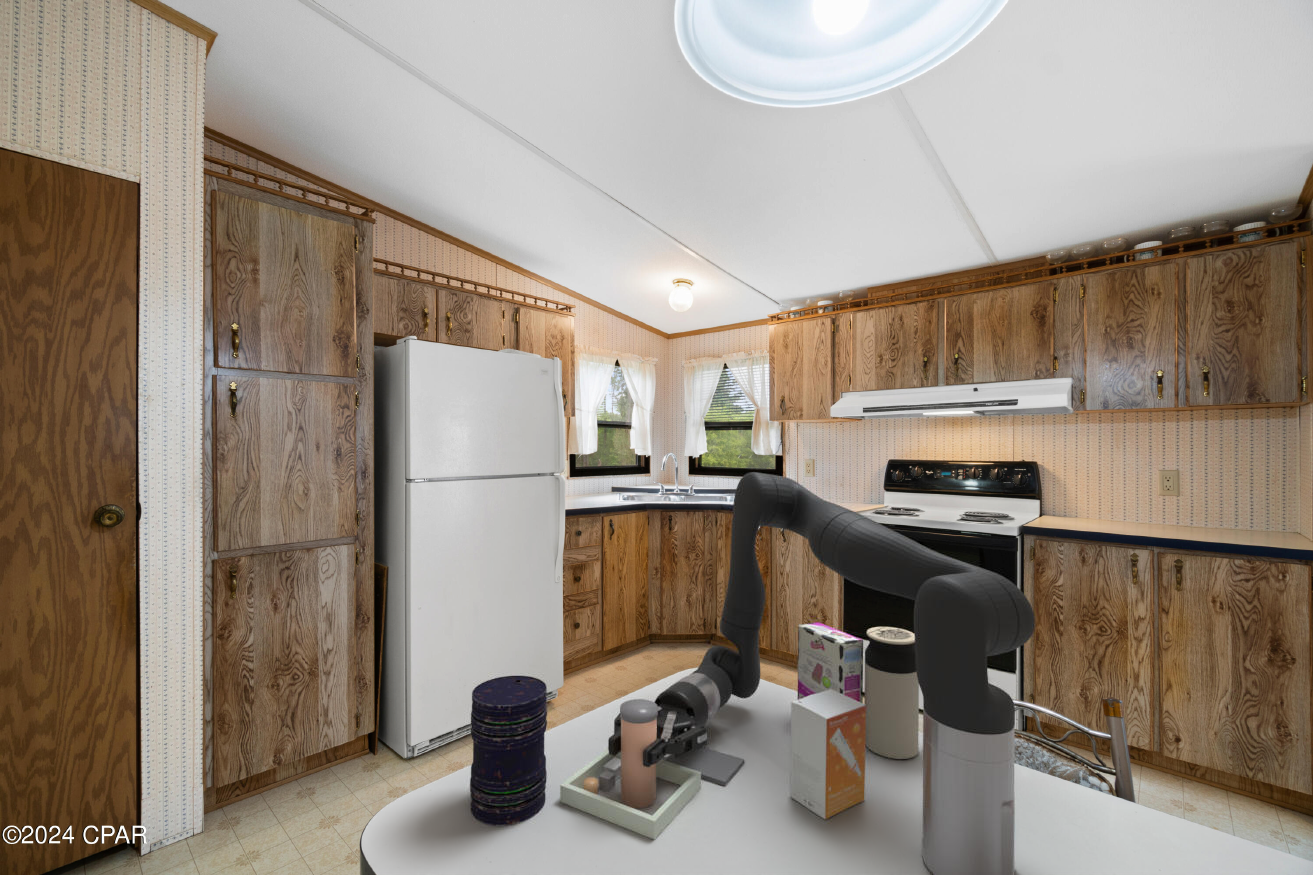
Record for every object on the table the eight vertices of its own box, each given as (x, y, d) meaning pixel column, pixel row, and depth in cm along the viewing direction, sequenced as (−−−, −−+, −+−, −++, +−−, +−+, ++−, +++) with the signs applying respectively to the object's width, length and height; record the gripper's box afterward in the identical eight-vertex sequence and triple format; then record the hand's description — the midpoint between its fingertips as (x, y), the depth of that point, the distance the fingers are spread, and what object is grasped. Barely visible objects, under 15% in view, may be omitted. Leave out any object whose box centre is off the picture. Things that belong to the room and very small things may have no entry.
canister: (664, 793, 82) (664, 704, 82) (644, 813, 77) (645, 719, 78) (632, 782, 84) (633, 696, 84) (612, 800, 80) (612, 709, 80)
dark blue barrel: (530, 830, 74) (531, 708, 74) (455, 821, 75) (457, 702, 75) (556, 784, 84) (557, 677, 84) (489, 778, 85) (491, 672, 85)
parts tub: (700, 787, 83) (701, 772, 83) (654, 839, 72) (654, 821, 72) (614, 758, 91) (614, 744, 91) (560, 801, 80) (560, 784, 80)
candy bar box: (864, 741, 97) (865, 639, 97) (840, 747, 95) (841, 643, 95) (818, 712, 107) (819, 620, 107) (795, 717, 105) (796, 623, 105)
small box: (825, 821, 76) (826, 718, 76) (788, 796, 81) (789, 700, 81) (866, 801, 81) (867, 703, 81) (829, 778, 86) (829, 687, 86)
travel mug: (929, 752, 94) (929, 636, 94) (896, 766, 89) (897, 645, 89) (885, 730, 100) (886, 623, 100) (853, 743, 96) (854, 630, 96)
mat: (744, 763, 90) (744, 759, 90) (725, 785, 84) (725, 781, 84) (685, 745, 95) (685, 741, 95) (663, 765, 89) (663, 761, 89)
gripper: (648, 671, 97) (584, 712, 82) (730, 691, 90) (676, 739, 75) (648, 718, 97) (583, 766, 82) (730, 741, 90) (675, 799, 75)
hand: (628, 753), depth 79 cm, fingers closed on canister, 4 cm apart
